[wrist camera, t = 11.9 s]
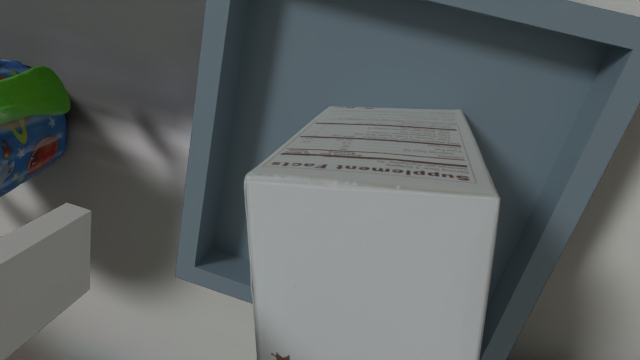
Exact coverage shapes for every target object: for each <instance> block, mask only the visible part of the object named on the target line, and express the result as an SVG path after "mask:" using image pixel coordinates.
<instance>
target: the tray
mask: <svg viewBox="0 0 640 360" xmlns="http://www.w3.org/2000/svg"><path fill="white" fill-rule="evenodd" d="M639 103H640V17H637V16H632V15H628V14H624V13H619V12H615V11H611V10H606V9H602V8H598V7H593V6H589V5H585V4H580V3H576V2H572V1H567V0H206V9H205V18H204V27H203V35H202V44H201V53H200V62H199V70H198V79H197V88H196V97H195V105H194V114H193V123H192V132H191V140H190V149H189V158H188V167H187V175H186V184H185V193H184V202H183V210H182V219H181V228H180V237H179V245H178V254H177V263H176V272H175V277H177V278H180V279H183V280H186V281H188V282H191V283H194V284H197V285H200V286H203V287H206V288H209V289H212V290H214V291H217V292H220V293H223V294H226V295H229V296H232V297H235V298H237V299H240V300H243V301H246V302H249V303H252V304H253V298H252V293H251V275H250V258H249V246H248V232H247V219H246V209H245V193H244V179H245V176H246V174H247V173H249V172H250V171H251V170H253V169H254V168H256V167H257V166H258V165H259V164H261V163H262V162H263V161H264V160H266V159H267V158H268V157H269V156H270V155H271V154H273V153H274V152H275V151H276V150H277V149H279V148H280V147H281V146H282V145H283V144H285V143H286V142H287V141H288V140H289V139H290V138H291V137H293V136H294V135H295V134H296V133H298V132H299V131H300V130H301V129H302V128H303V127H305V126H306V125H307V124H308V123H310V122H311V121H312V120H313V119H314V118H315V117H317V116H318V115H319V114H321V113H322V112H323V111H324V110H325V109H327V108H328V107H329V106H339V107H375V108H409V109H449V110H455V109H460V110H462V111H463V113H464V116H465V117H466V120H467V122H468V124H469V127H470V129H471V131H472V133H473V136H474V138H475V140H476V143H477V145H478V147H479V150H480V152H481V155H482V157H483V160H484V162H485V165H486V167H487V169H488V171H489V174H490V176H491V178H492V180H493V183H494V186H495V188H496V190H497V193H498V195H499V197H500V208H499V217H498V226H497V235H496V243H495V250H494V257H493V265H492V272H491V279H490V287H489V294H488V302H487V309H486V317H485V324H484V331H483V337H482V344H481V351H480V359H479V360H506V359H507V357H508V355H509V353H510V351H511V349H512V347H513V346H514V344H515V342H516V340H517V338H518V336H519V334H520V332H521V330H522V328H523V326H524V324H525V322H526V321H527V319H528V317H529V315H530V313H531V311H532V309H533V307H534V305H535V303H536V301H537V299H538V297H539V296H540V294H541V292H542V290H543V288H544V286H545V284H546V282H547V280H548V278H549V276H550V274H551V272H552V271H553V269H554V267H555V265H556V263H557V261H558V259H559V257H560V255H561V253H562V251H563V249H564V247H565V246H566V244H567V242H568V240H569V238H570V236H571V234H572V232H573V230H574V228H575V226H576V224H577V222H578V221H579V219H580V217H581V215H582V213H583V211H584V209H585V207H586V205H587V203H588V201H589V199H590V197H591V196H592V194H593V192H594V190H595V188H596V186H597V184H598V182H599V180H600V178H601V176H602V174H603V172H604V171H605V169H606V167H607V165H608V163H609V161H610V159H611V157H612V155H613V153H614V151H615V149H616V147H617V146H618V144H619V142H620V140H621V138H622V136H623V134H624V132H625V130H626V128H627V126H628V124H629V122H630V121H631V119H632V117H633V115H634V113H635V111H636V109H637V107H638V105H639Z"/></svg>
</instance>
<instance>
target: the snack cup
mask: <svg viewBox="0 0 640 360" xmlns="http://www.w3.org/2000/svg"><path fill="white" fill-rule="evenodd" d="M70 107H71V105H70V98H69V95H68V92H67V91H66V89H65V88H64V85H63V83H62V82H61V80H60V79H59V77H58V76H57V75H56V74H55V73H54V72H53V71H52V70H51V69H49V68H47V67H43V66H35V67H34V68H29V67H26V66H24V65H22V64H21V63H20V62H19V61H13V60H8V59H0V197H1V196H3V195H5V194H6V193H8V192H10V191H11V190H13V189H14V188H16V187H17V186H18V185H20V184H21V183H24V182H26V181H27V180H29V179H30V178H31V177H33V176H35V175H37V174H39V173H40V172H41V171H42V170H43V169H45V168H47V167H49V166H51V165H52V164H53V163H54V162H55V161H56V159H57V158H58V157H60V156H61V155H62V154H63V152H64V150H65V149H66V147H67V146H66V137H67V125H66V119H65V115H64V114H65V113H67V112H68V111H69V110H70Z"/></svg>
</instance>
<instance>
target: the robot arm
mask: <svg viewBox="0 0 640 360" xmlns="http://www.w3.org/2000/svg"><path fill="white" fill-rule="evenodd" d="M90 245H91V210H88V209H85V208H82V207H79V206H76V205H73V204H70V203H65V204H63V205H61V206H60V207H58V208H56V209H54V210H52V211H50V212H48V213H46V214H44V215H43V216H41V217H39V218H37V219H35V220H33V221H31V222H29V223H27V224H25V225H24V226H22V227H20V228H18V229H16V230H14V231H12V232H10V233H8V234H7V235H5V236H3V237H1V238H0V360H5V359H6V358H8V357H9V356H10V355H11V354H12V353H14V352H15V351H16V350H17V349H18V348H20V347H21V346H22V345H23V344H24V343H26V342H27V341H28V340H29V339H30V338H32V337H33V336H34V335H35V334H36V333H38V332H39V331H40V330H41V329H42V328H44V327H45V326H46V325H47V324H48V323H50V322H51V321H52V320H53V319H55V318H56V317H57V316H58V315H59V314H61V313H62V312H63V311H64V310H65V309H67V308H68V307H69V306H70V305H71V304H73V303H74V302H75V301H76V300H77V299H79V298H80V297H81V296H82V295H83V294H85V293H86V292H87V291H88V290H89V288H90Z"/></svg>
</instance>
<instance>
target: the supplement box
mask: <svg viewBox="0 0 640 360" xmlns="http://www.w3.org/2000/svg"><path fill="white" fill-rule="evenodd" d="M244 193H245V209H246V219H247V232H248V246H249V258H250V275H251V293H252V298H253V312H254V324H255V337H256V351H257V360H479V359H480V351H481V344H482V337H483V331H484V324H485V317H486V309H487V302H488V294H489V287H490V279H491V272H492V265H493V257H494V250H495V243H496V235H497V226H498V217H499V208H500V197H499V195H498V193H497V190H496V188H495V186H494V183H493V180H492V178H491V176H490V174H489V171H488V169H487V167H486V165H485V162H484V160H483V157H482V155H481V152H480V150H479V147H478V145H477V143H476V140H475V138H474V136H473V133H472V131H471V129H470V127H469V124H468V122H467V120H466V117H465V116H464V113H463V111H462V110H460V109H455V110H449V109H409V108H375V107H339V106H329V107H328V108H327V109H325V110H324V111H323V112H322V113H321V114H319V115H318V116H317V117H315V118H314V119H313V120H312V121H311V122H310V123H308V124H307V125H306V126H305V127H303V128H302V129H301V130H300V131H299V132H298V133H296V134H295V135H294V136H293V137H291V138H290V139H289V140H288V141H287V142H286V143H285V144H283V145H282V146H281V147H280V148H279V149H277V150H276V151H275V152H274V153H273V154H271V155H270V156H269V157H268V158H267V159H266V160H264V161H263V162H262V163H261V164H259V165H258V166H257V167H256V168H254V169H253V170H251V171H250V172H249V173H247V174H246V176H245V179H244Z"/></svg>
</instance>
